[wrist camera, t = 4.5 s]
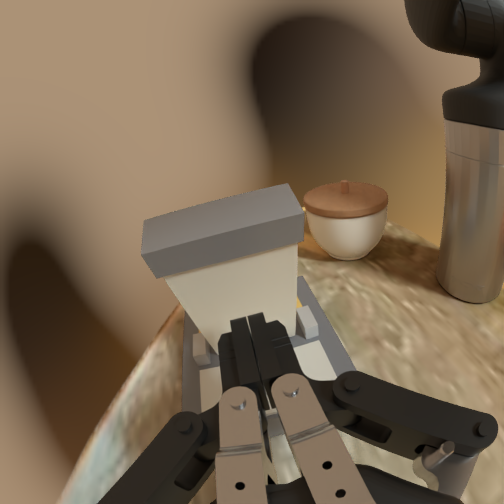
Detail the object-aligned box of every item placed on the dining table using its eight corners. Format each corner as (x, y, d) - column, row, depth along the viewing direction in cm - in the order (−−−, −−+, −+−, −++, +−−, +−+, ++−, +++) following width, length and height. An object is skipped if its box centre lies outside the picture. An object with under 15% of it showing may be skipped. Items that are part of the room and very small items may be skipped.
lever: (298, 337, 20) (304, 212, 10) (216, 357, 19) (140, 254, 10) (290, 314, 21) (287, 183, 11) (211, 334, 21) (143, 220, 11)
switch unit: (360, 408, 16) (368, 377, 14) (198, 449, 15) (174, 426, 13) (304, 298, 28) (301, 265, 26) (194, 326, 28) (181, 296, 26)
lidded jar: (381, 229, 38) (380, 169, 33) (392, 270, 29) (395, 193, 25) (313, 232, 41) (306, 173, 37) (305, 271, 33) (295, 198, 28)
